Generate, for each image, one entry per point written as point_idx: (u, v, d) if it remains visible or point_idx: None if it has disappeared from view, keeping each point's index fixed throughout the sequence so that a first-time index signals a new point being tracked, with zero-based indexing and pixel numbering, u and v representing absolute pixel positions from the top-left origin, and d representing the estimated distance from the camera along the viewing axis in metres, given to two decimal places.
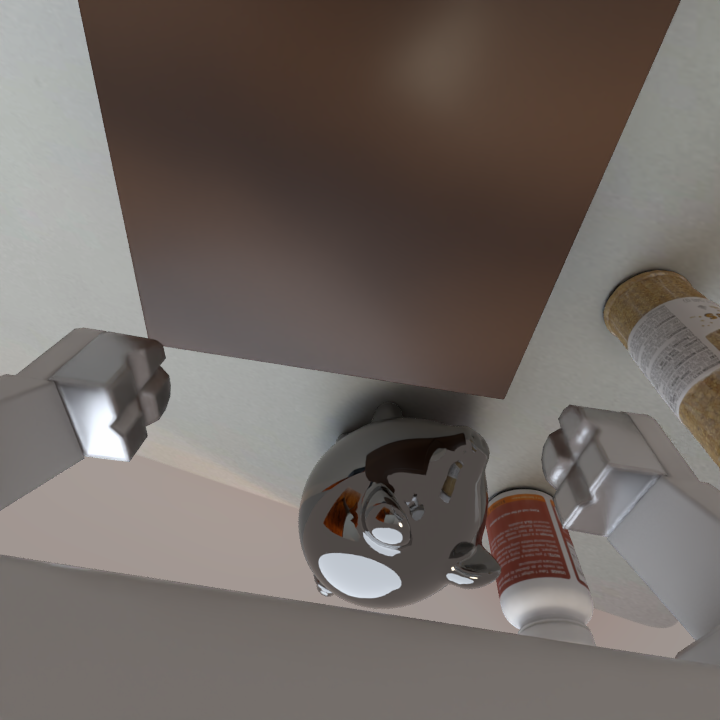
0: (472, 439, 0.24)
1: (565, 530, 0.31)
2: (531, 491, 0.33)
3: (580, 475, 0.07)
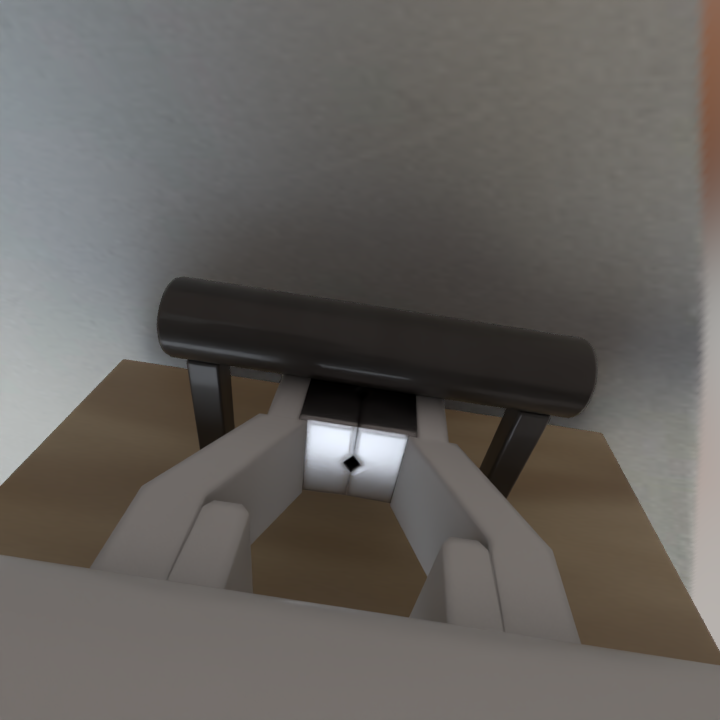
0: None
1: None
2: None
3: None
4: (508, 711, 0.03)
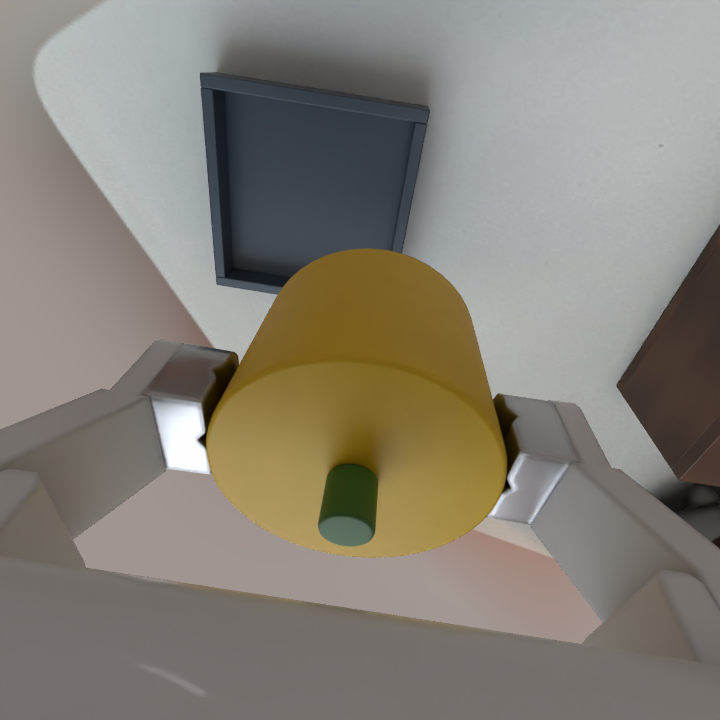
0: None
1: None
2: None
3: None
4: (508, 711, 0.03)
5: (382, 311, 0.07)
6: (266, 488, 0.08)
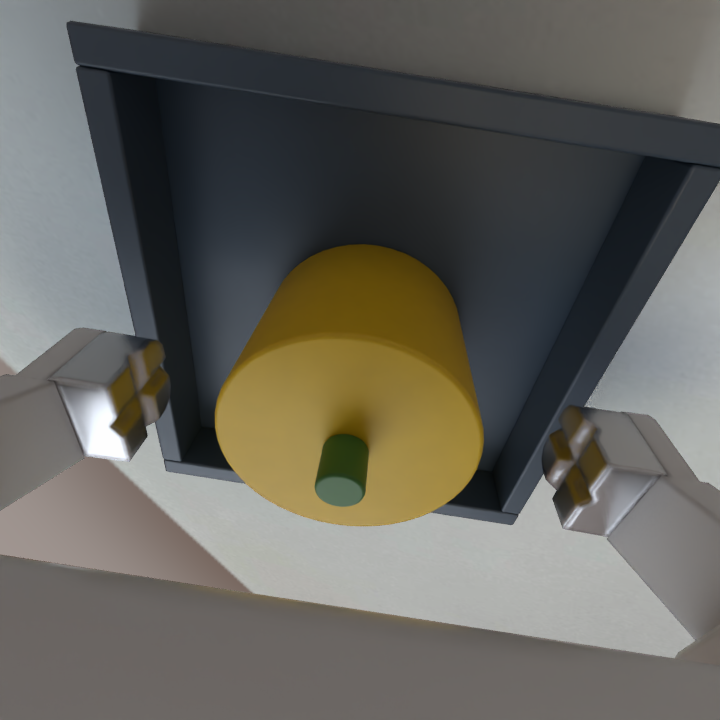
0: None
1: None
2: None
3: (581, 476, 0.07)
4: (508, 711, 0.03)
5: (373, 298, 0.08)
6: (268, 458, 0.08)
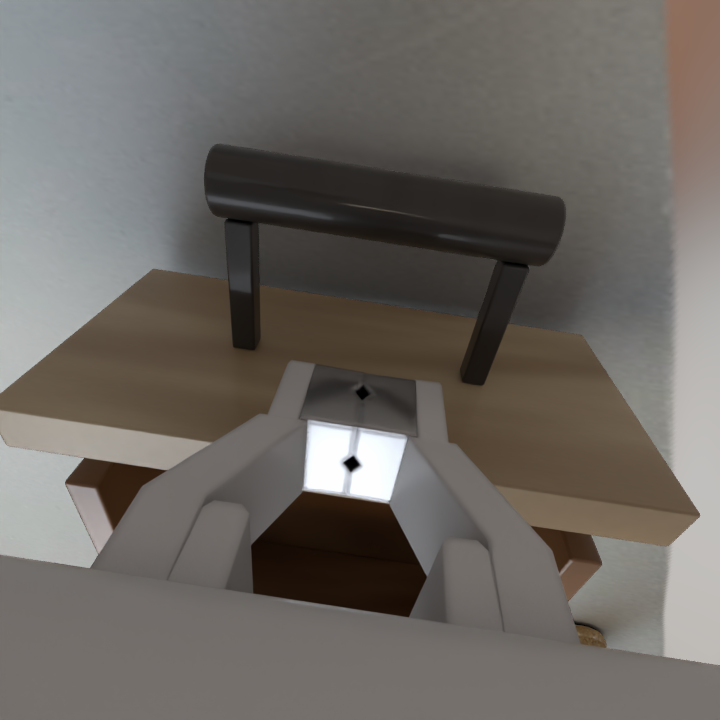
0: None
1: None
2: None
3: None
4: (508, 711, 0.03)
5: None
6: None
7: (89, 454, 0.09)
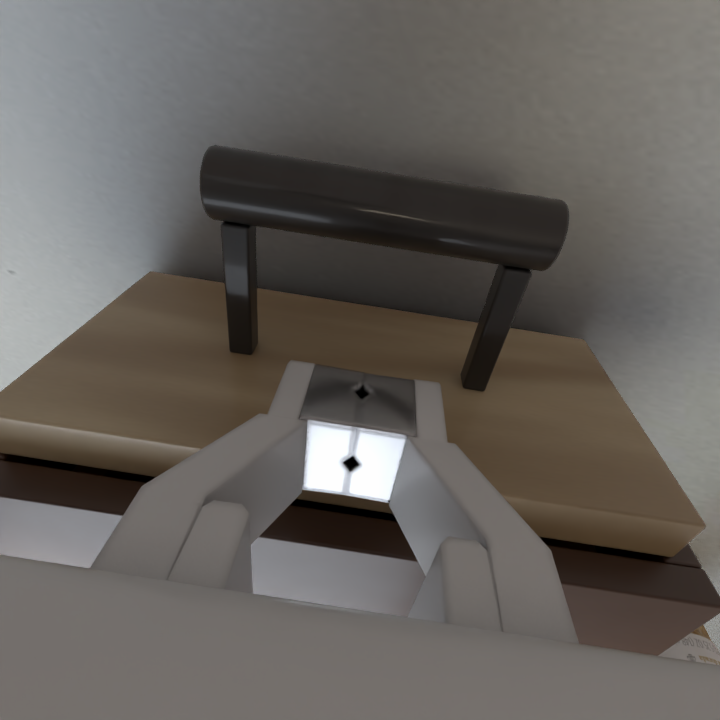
0: None
1: None
2: None
3: None
4: (508, 711, 0.03)
5: None
6: None
7: (82, 460, 0.09)
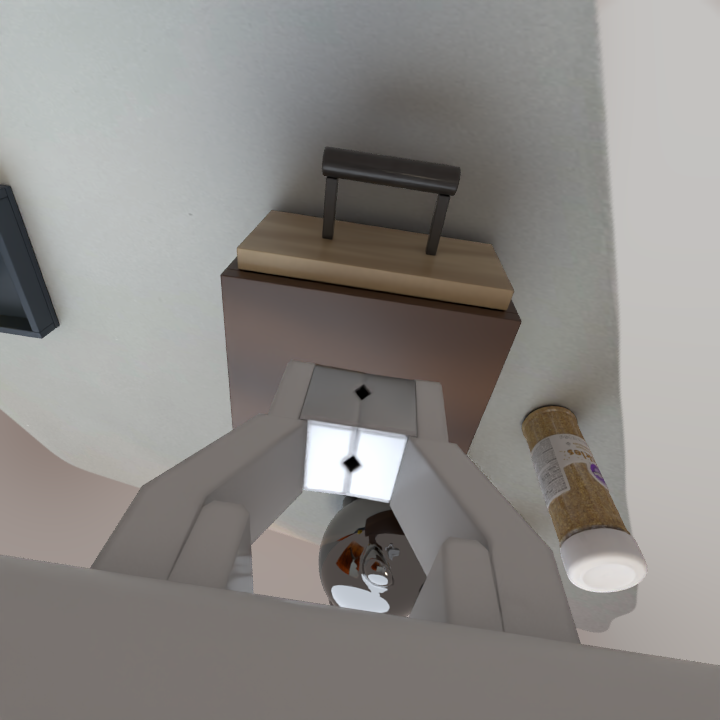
0: None
1: None
2: None
3: None
4: (508, 711, 0.03)
5: None
6: None
7: (272, 271, 0.22)
